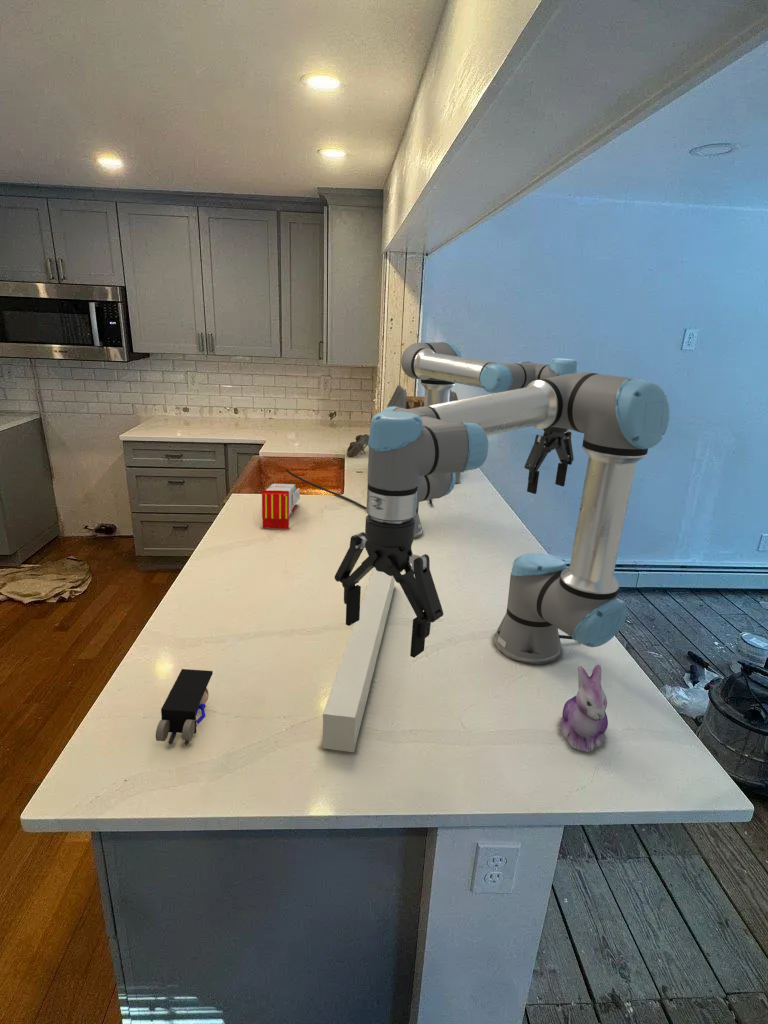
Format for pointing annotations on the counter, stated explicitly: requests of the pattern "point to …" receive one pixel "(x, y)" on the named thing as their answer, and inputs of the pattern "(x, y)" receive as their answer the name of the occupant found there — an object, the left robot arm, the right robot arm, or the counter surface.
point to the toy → (279, 505)
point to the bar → (357, 667)
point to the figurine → (586, 712)
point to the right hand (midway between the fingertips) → (383, 637)
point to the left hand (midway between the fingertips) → (545, 488)
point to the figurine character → (184, 705)
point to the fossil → (358, 445)
